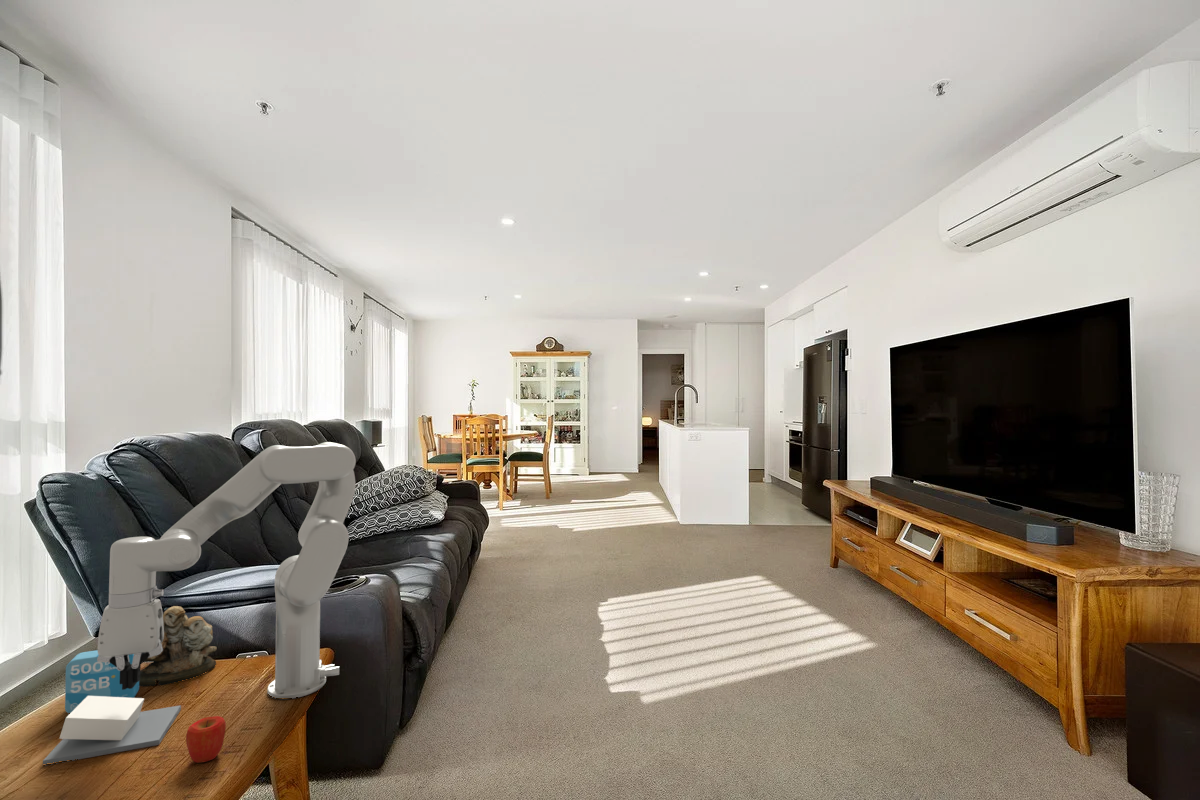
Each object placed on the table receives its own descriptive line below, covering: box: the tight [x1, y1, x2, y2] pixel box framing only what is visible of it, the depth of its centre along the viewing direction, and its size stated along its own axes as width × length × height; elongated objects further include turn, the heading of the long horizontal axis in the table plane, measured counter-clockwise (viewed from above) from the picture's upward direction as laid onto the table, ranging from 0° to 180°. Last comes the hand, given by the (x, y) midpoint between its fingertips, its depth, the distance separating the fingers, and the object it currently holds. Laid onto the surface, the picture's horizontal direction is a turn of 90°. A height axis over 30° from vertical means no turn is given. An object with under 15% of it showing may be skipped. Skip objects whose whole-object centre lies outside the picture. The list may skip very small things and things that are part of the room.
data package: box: [64, 649, 140, 714], centre depth 128 cm, size 12×4×12 cm, turn 116°
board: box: [42, 705, 182, 765], centre depth 116 cm, size 18×14×1 cm
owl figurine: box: [139, 605, 217, 687], centre depth 143 cm, size 18×12×17 cm, turn 124°
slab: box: [58, 696, 145, 740], centre depth 115 cm, size 4×9×10 cm
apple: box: [185, 715, 227, 764], centre depth 108 cm, size 6×6×8 cm
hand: (129, 686), depth 117 cm, fingers closed
